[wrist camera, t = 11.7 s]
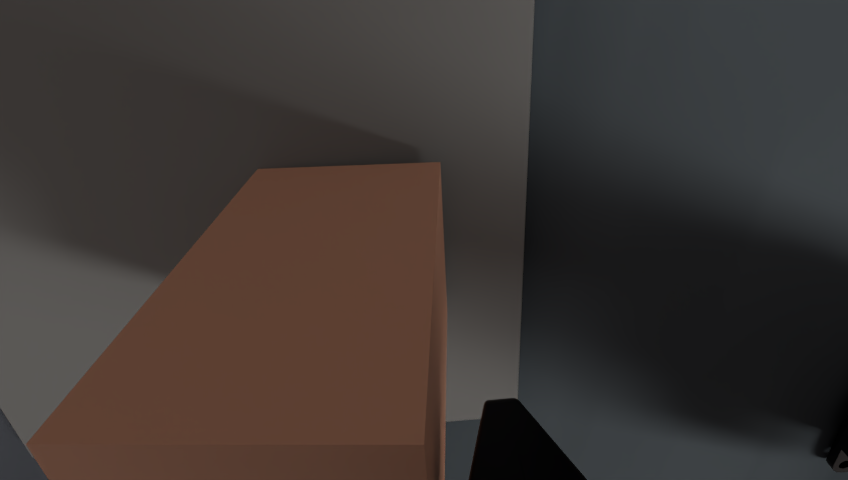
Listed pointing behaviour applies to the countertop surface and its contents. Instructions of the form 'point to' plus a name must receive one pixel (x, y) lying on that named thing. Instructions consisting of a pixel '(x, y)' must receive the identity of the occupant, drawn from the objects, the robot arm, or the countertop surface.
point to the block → (279, 343)
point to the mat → (245, 157)
